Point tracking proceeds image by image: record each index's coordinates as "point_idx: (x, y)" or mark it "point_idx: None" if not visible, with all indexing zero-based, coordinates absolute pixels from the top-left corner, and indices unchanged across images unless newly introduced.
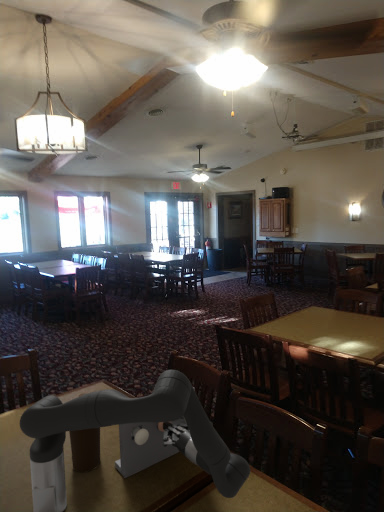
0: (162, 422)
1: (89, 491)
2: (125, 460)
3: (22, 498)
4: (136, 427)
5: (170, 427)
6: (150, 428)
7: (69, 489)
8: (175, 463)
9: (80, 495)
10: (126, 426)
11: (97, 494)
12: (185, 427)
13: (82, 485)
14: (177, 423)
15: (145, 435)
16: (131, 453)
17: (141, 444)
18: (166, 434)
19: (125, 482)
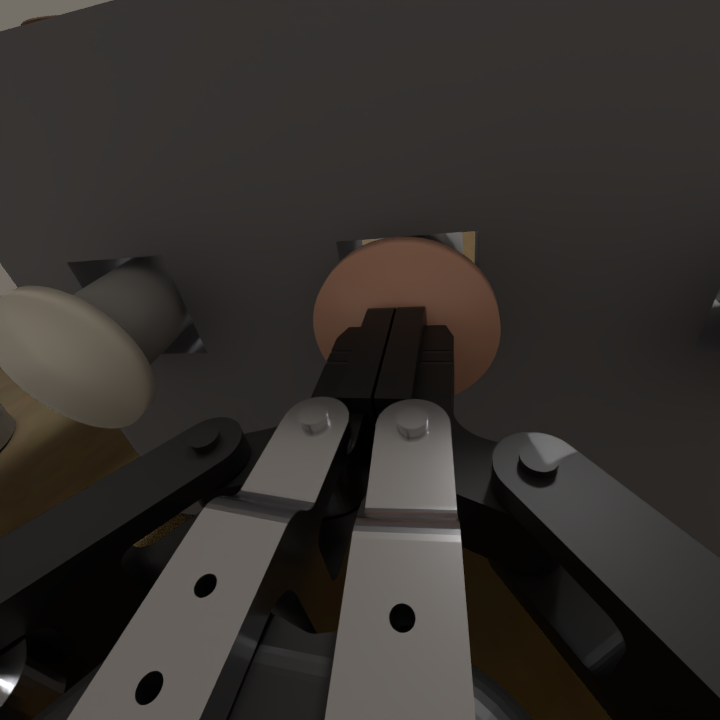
0: (360, 302)
1: (57, 474)
2: (139, 447)
3: (7, 378)
4: (124, 267)
5: (318, 430)
6: (276, 321)
7: (61, 422)
8: (477, 651)
9: (29, 470)
10: (3, 225)
11: (40, 512)
12: (683, 688)
13: (90, 432)
14: (631, 377)
15: (95, 368)
16: (164, 429)
17: (95, 425)
18: (42, 557)
19: (152, 540)
